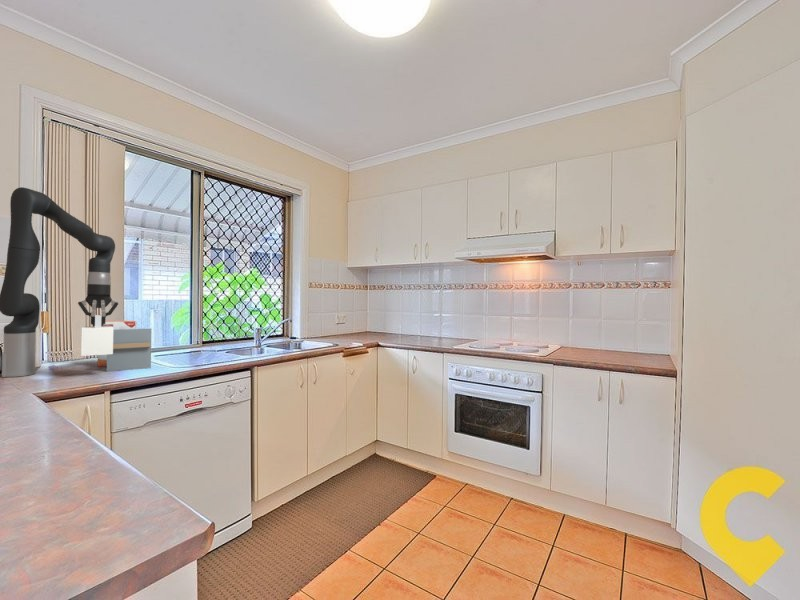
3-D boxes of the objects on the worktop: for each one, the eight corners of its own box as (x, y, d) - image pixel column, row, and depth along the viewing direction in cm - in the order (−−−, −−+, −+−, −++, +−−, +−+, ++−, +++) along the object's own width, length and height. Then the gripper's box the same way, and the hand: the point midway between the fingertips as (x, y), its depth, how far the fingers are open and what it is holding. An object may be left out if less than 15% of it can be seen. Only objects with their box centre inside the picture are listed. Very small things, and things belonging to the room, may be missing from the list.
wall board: (106, 372, 162) (107, 330, 162) (106, 369, 168) (107, 329, 168) (151, 368, 172) (151, 329, 172) (149, 366, 178) (150, 327, 178)
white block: (81, 355, 150) (82, 315, 150) (81, 353, 156) (82, 314, 156) (112, 354, 156) (113, 315, 156) (112, 351, 162) (113, 314, 162)
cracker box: (97, 367, 172) (97, 321, 172) (99, 365, 178) (100, 320, 177) (134, 365, 180) (135, 321, 179) (135, 363, 185) (136, 320, 185)
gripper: (76, 282, 148) (75, 326, 148) (120, 284, 156) (119, 326, 157) (77, 282, 154) (76, 325, 154) (119, 284, 162) (118, 324, 162)
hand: (98, 325), depth 155 cm, fingers closed on white block
